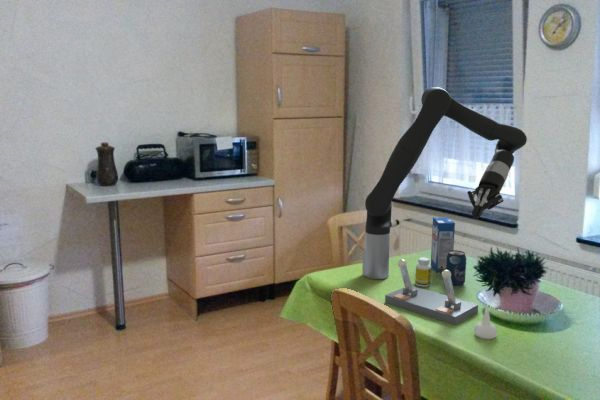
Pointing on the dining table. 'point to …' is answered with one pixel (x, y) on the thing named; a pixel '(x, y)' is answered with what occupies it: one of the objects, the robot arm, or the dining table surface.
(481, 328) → the garlic bulb
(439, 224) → the milk carton
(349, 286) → the dining table surface
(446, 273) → the lever outer
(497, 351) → the dining table surface
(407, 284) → the lever inner
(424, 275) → the supplement bottle
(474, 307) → the switch unit
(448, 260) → the soda can
